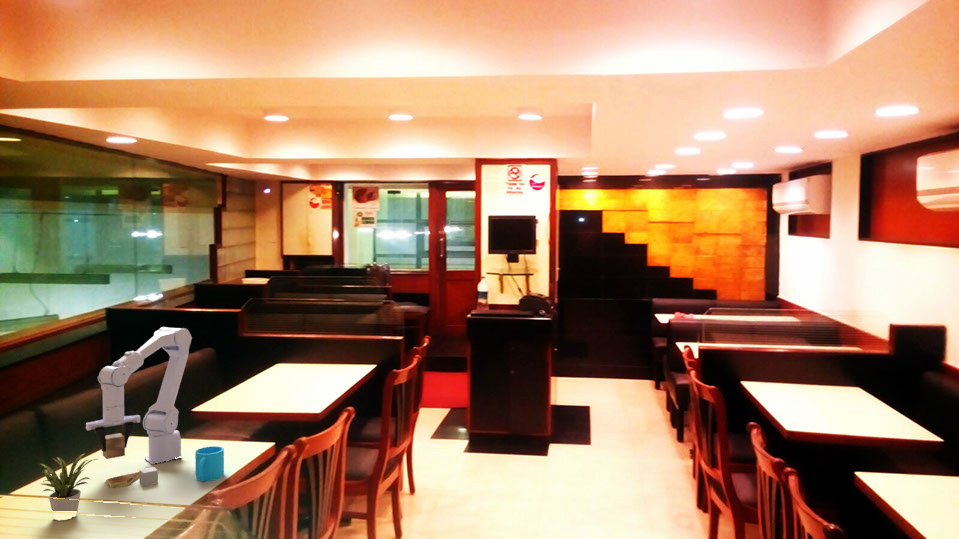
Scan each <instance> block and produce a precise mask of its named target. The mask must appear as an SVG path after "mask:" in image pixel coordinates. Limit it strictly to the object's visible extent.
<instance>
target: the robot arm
mask: <svg viewBox="0 0 959 539" xmlns="http://www.w3.org/2000/svg"><path fill="white" fill-rule="evenodd" d="M192 339H193V337H192V335H191V333H190V330H188V329H187V328H186V327H185V328H184V327H182V328H181V327H167V326H162V327H160V328H159V329H158V330H156V331H154V333H153V336H152V337H151V338H150V339H148V340H147V341H146V342H145V343H144V344H143V345H141V346H140V347H139V348H138V349H136V351H134V350H130V351H125V353H124V355H123V356H122V357H121V358H119V359H118V360H116V361H114V362H113V363H112V365H106V366H105V367H102V369H101V370H100V371H99V374H98V376H97V381H98V383H99V384H100V389H101V390H102V419H100V420H94V421H90V422H89V421H88V422H86V423H85V429H86V431H91V430H93V432H94V433H95V434H96V437H97V438H98V441H99V445H100V448H101V451H102V453H103V452H105V451H106V443H105V438H106V435H107V431H106V429H105V428H108V427H115V426H120V425H121V434H122V435H124V436H125V449H126V448H127V445H128V441H129V438H130V435H131V434H132V432H133V430H134V428H135V424H134V423H136V424H137V423H141V415H139V414H136V415H135V414H134V415H125V387H124V386H125V384H126V383H127V382H128V380H129V377H130V376H131V375H132V374H133V373H134V372H135V371H137V370H138V369H139V368H140V367H142V366H143V364H144V360H145V359H146V358H148V357H149V356H150V355H152V354H154V353H155V352H157V351H158V350H160V349H163V350H164V351H166V353H167V354H168V355H169V359H168V361H167V362H168V363H167V366H166V370H165V373H164V377H163V379H162V383H161V386H160V389H159V393H158V396H157V399H156V400H157V401H156V402H155V403H154V404H152V405H151V406H150V407H148V411H147V412H146V413H145V415H144V417H143V420H142V427H143V429H144V430H146V434H147V435H148V456H145V457H144V460H146V461H147V462H148V461H149V462H150V463H149V462H148V463H149V464H151V465H155V463H157V464H161V463H164V462H163V461H166V462H168V461H167V460H171V461H173V460H172V459H175V457H176V458H177V457H179V456H181V457H182V438H181V437H182V436H181V434H180V433H181V432H180V431H179V430H177V427H178V423H179V413H180V411H179V410H178V408H176V406H175V402H176V400H177V396H178V392H179V389H180V385H181V382H182V379H183V375H184V372H185V368H186V365H187V361H188V358H189V354H190V353H189V352H190V351H189V350H190V346H191V343H192ZM160 462H161V463H160Z"/></svg>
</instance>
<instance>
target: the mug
mask: <svg viewBox="0 0 959 539" xmlns="http://www.w3.org/2000/svg"><path fill="white" fill-rule="evenodd" d="M224 476H225V449H224V447H222V446H217V445H216V446H215V445H214V446H213V445H212V446H205V447H201V448H198V449H197V450H195V480H197V481H200V482H209V481H215V480H218V479H221V478H223V477H224Z"/></svg>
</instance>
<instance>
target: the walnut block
mask: <svg viewBox="0 0 959 539" xmlns="http://www.w3.org/2000/svg"><path fill="white" fill-rule="evenodd" d="M105 443H106V451H105V452H103V451H102V457H104V458H105V460H109V459H115V458H120V457H126V451H125V450H126V448H125V436H124V435H122V432H121V433H120V432H119V433H112V434H108V435H107V434H106V438H105Z"/></svg>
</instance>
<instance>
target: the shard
mask: <svg viewBox="0 0 959 539" xmlns="http://www.w3.org/2000/svg"><path fill="white" fill-rule="evenodd" d="M137 479H139V471H137V472H132V473H127V474H123V475H117V476H114V477H109V478H107V479H106V480H105V484H107V485H109V487H110V488H115V487H116V488H117V487H128V486H130V485H131V483H133V482H134V481H136V480H137Z"/></svg>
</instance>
